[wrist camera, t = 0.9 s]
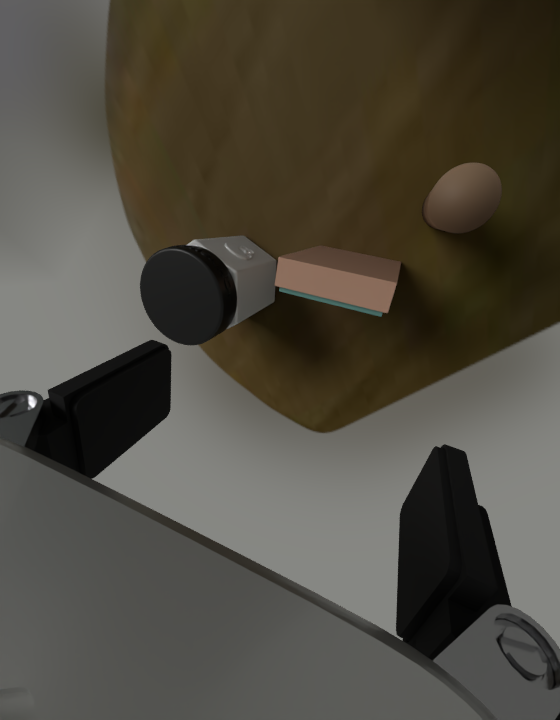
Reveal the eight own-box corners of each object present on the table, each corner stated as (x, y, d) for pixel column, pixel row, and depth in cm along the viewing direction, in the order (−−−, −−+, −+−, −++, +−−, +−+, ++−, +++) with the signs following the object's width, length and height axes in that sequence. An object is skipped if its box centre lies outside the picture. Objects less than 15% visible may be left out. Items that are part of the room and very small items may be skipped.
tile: (320, 245, 32) (278, 256, 22) (401, 261, 30) (397, 282, 20) (315, 269, 33) (273, 291, 23) (393, 286, 31) (385, 319, 21)
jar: (294, 270, 34) (244, 292, 24) (258, 327, 38) (202, 366, 28) (229, 221, 35) (152, 221, 24) (200, 282, 39) (124, 304, 28)
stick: (430, 182, 27) (442, 158, 17) (473, 188, 26) (514, 167, 16) (416, 225, 29) (420, 227, 18) (456, 232, 28) (484, 238, 18)
